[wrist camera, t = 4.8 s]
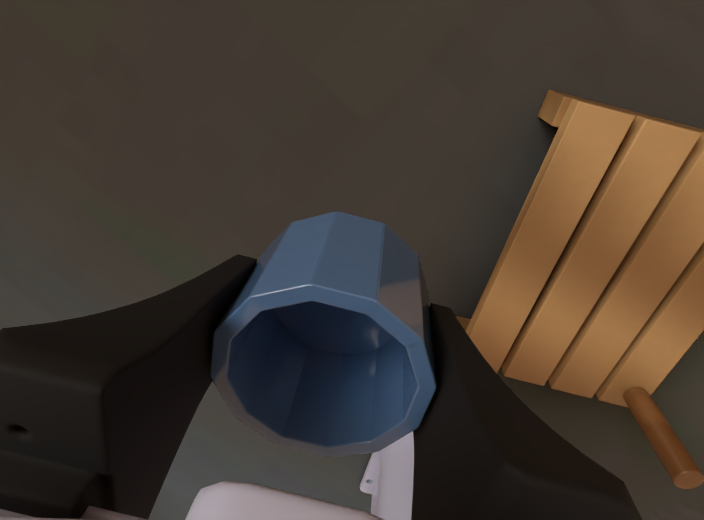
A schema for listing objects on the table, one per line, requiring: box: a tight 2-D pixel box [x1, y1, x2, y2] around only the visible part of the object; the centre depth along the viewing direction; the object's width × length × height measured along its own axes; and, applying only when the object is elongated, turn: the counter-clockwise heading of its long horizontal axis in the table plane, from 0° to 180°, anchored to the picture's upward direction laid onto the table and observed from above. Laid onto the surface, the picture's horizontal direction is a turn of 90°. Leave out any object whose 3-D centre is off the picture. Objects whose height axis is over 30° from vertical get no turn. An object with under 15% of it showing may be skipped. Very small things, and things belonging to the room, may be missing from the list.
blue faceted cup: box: [210, 212, 437, 457], centre depth 12 cm, size 6×6×4 cm
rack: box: [456, 90, 704, 489], centre depth 19 cm, size 14×11×8 cm
